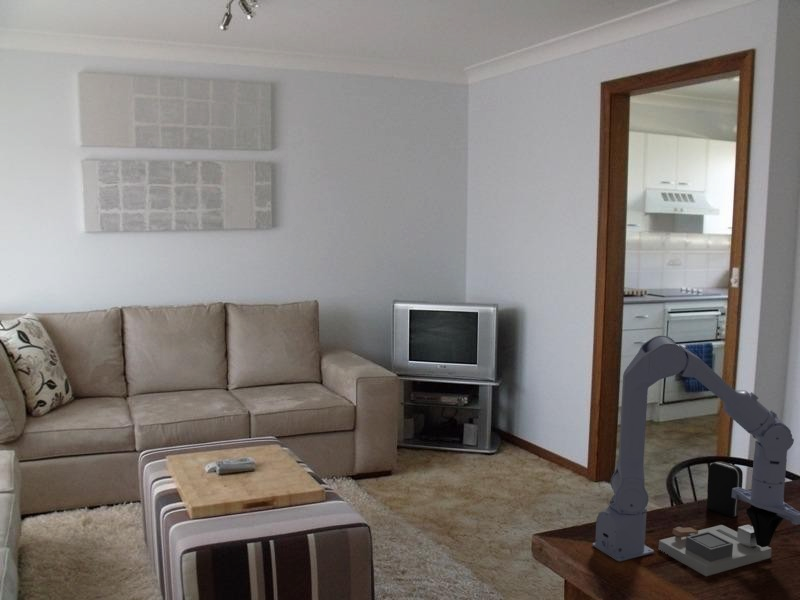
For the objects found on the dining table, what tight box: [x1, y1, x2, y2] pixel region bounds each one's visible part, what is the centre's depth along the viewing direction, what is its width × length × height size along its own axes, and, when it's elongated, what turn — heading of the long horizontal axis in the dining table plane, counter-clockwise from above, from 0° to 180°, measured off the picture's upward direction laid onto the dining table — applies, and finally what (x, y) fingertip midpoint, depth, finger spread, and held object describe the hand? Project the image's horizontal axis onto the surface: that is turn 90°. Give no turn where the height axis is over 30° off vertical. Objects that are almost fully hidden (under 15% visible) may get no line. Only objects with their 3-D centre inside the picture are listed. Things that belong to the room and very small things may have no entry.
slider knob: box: [737, 524, 757, 547], centre depth 149 cm, size 3×3×3 cm
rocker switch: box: [672, 527, 699, 537], centre depth 151 cm, size 5×2×1 cm, turn 116°
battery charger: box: [706, 460, 744, 518], centre depth 170 cm, size 7×4×11 cm, turn 38°
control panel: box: [658, 524, 772, 577], centre depth 149 cm, size 18×12×4 cm, turn 116°
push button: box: [692, 534, 727, 548], centre depth 146 cm, size 4×4×2 cm
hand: (762, 545), depth 146 cm, fingers closed
